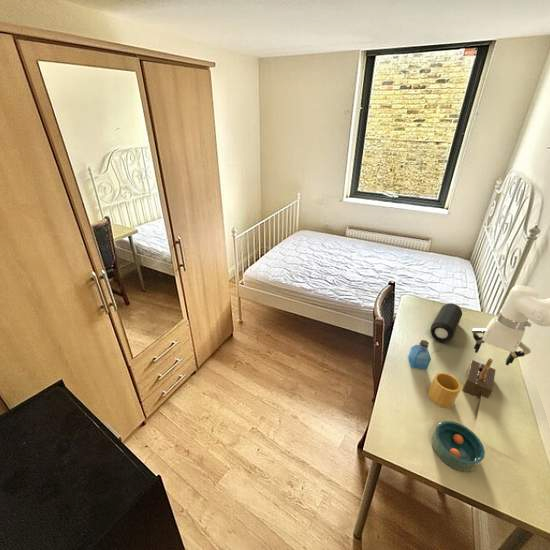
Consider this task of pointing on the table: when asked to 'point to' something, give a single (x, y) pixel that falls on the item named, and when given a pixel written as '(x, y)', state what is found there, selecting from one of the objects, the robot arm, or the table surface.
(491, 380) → the holder
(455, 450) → the dough ball
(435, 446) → the bowl
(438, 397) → the utensil pot
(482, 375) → the stirring stick
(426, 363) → the perfume bottle
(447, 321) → the portable speaker
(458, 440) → the dough ball
